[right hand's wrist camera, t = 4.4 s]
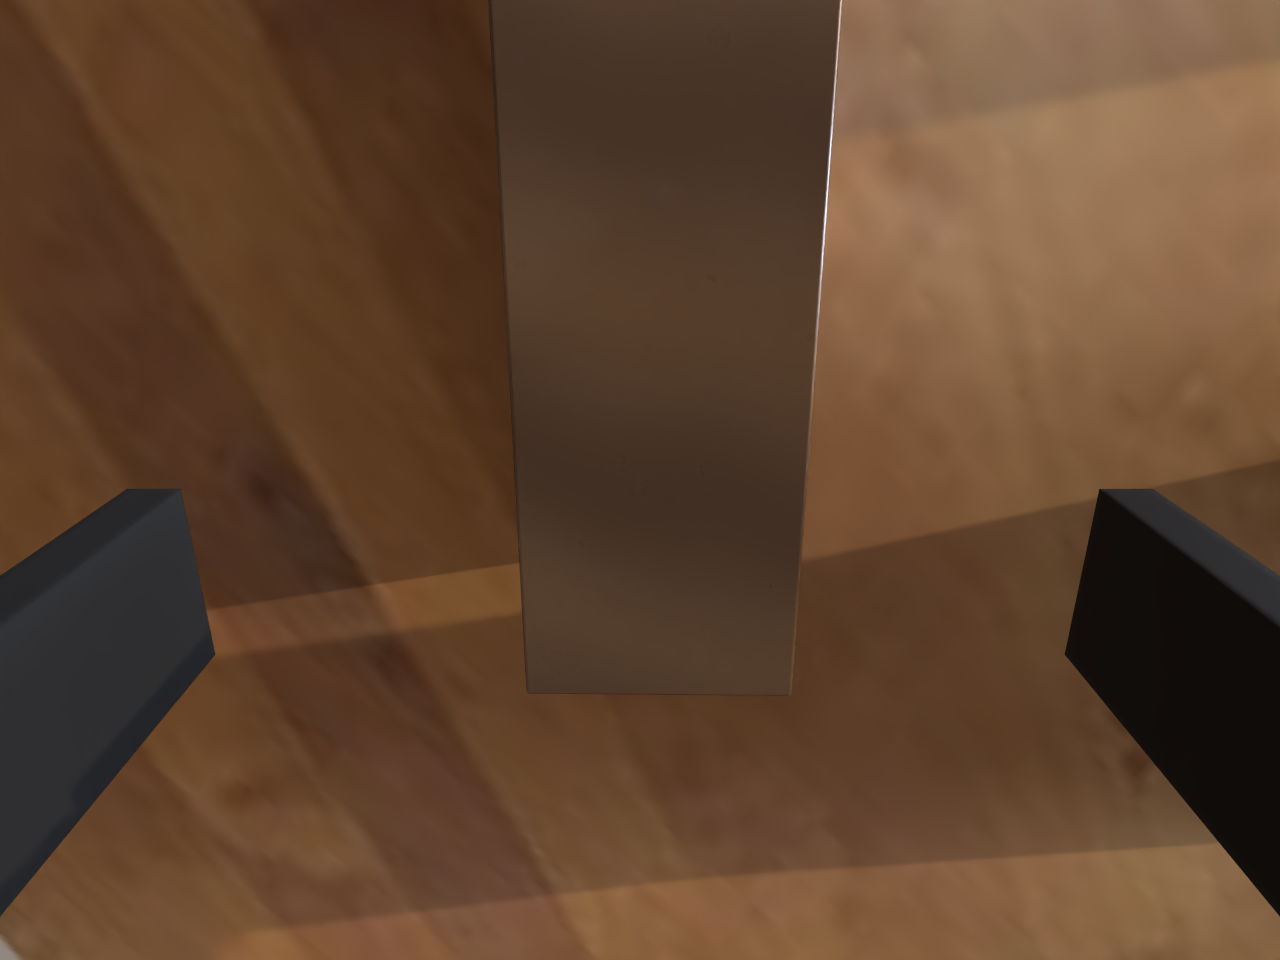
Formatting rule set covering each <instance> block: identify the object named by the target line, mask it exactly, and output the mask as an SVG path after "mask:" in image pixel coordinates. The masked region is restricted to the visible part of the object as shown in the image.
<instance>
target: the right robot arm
mask: <svg viewBox="0 0 1280 960" xmlns="http://www.w3.org/2000/svg"><path fill="white" fill-rule="evenodd" d="M214 655H215V651H214V646H213V641H212V637H211V632H210V627H209V622H208V617H207V613H206V608H205V603H204V598H203V594H202V589H201V584H200V579H199V575H198V570H197V565H196V560H195V556H194V551H193V546H192V541H191V536H190V532H189V527H188V522H187V517H186V513H185V508H184V503H183V498H182V494H181V489H126V490H125V491H123V492H122V493H121V494H119V495H118V496H116V497H115V498H113V499H112V500H110V501H109V502H107V503H106V504H104V505H103V506H102V507H100V508H99V509H97V510H96V511H94V512H93V513H91V514H90V515H88V516H87V517H86V518H84V519H83V520H81V521H80V522H78V523H77V524H75V525H74V526H72V527H71V528H70V529H68V530H67V531H65V532H64V533H62V534H61V535H59V536H58V537H56V538H55V539H53V540H52V541H51V542H49V543H48V544H46V545H45V546H43V547H42V548H40V549H39V550H37V551H36V552H35V553H33V554H32V555H30V556H29V557H27V558H26V559H24V560H23V561H21V562H20V563H19V564H17V565H16V566H14V567H13V568H11V569H10V570H8V571H7V572H5V573H4V574H2V575H1V576H0V916H1V915H2V914H3V912H4V911H5V910H6V909H7V907H8V906H9V905H10V904H11V903H12V901H13V900H14V899H15V898H16V896H17V895H18V894H19V893H20V892H21V890H22V889H23V888H24V887H25V885H26V884H27V883H28V882H29V881H30V879H31V878H32V877H33V876H34V875H35V873H36V872H37V871H38V870H39V868H40V867H41V866H42V865H43V864H44V862H45V861H46V860H47V859H48V857H49V856H50V855H51V854H52V853H53V851H54V850H55V849H56V848H57V847H58V845H59V844H60V843H61V842H62V840H63V839H64V838H65V837H66V836H67V834H68V833H69V832H70V831H71V829H72V828H73V827H74V826H75V825H76V823H77V822H78V821H79V820H80V819H81V817H82V816H83V815H84V814H85V812H86V811H87V810H88V809H89V808H90V806H91V805H92V804H93V803H94V801H95V800H96V799H97V798H98V797H99V795H100V794H101V793H102V792H103V790H104V789H105V788H106V787H107V786H108V784H109V783H110V782H111V781H112V780H113V778H114V777H115V776H116V775H117V773H118V772H119V771H120V770H121V769H122V767H123V766H124V765H125V764H126V762H127V761H128V760H129V759H130V758H131V756H132V755H133V754H134V753H135V752H136V750H137V749H138V748H139V747H140V745H141V744H142V743H143V742H144V741H145V739H146V738H147V737H148V736H149V734H150V733H151V732H152V731H153V730H154V728H155V727H156V726H157V725H158V724H159V722H160V721H161V720H162V719H163V717H164V716H165V715H166V714H167V713H168V711H169V710H170V709H171V708H172V706H173V705H174V704H175V703H176V702H177V700H178V699H179V698H180V697H181V695H182V694H183V693H184V692H185V691H186V689H187V688H188V687H189V686H190V685H191V683H192V682H193V681H194V680H195V678H196V677H197V676H198V675H199V674H200V672H201V671H202V670H203V669H204V667H205V666H206V665H207V664H208V663H209V661H210V660H211V659H212V658H213V657H214ZM1065 655H1066V657H1067V658H1068V659H1069V660H1070V661H1071V663H1072V664H1073V665H1074V666H1075V667H1076V669H1077V670H1078V671H1079V672H1080V674H1081V675H1082V676H1083V677H1084V678H1085V680H1086V681H1087V682H1088V683H1089V685H1090V686H1091V687H1092V688H1093V689H1094V691H1095V692H1096V693H1097V694H1098V695H1099V697H1100V698H1101V699H1102V700H1103V702H1104V703H1105V704H1106V705H1107V706H1108V708H1109V709H1110V710H1111V711H1112V713H1113V714H1114V715H1115V716H1116V717H1117V719H1118V720H1119V721H1120V722H1121V724H1122V725H1123V726H1124V727H1125V728H1126V730H1127V731H1128V732H1129V733H1130V734H1131V736H1132V737H1133V738H1134V739H1135V741H1136V742H1137V743H1138V744H1139V745H1140V747H1141V748H1142V749H1143V750H1144V752H1145V753H1146V754H1147V755H1148V756H1149V758H1150V759H1151V760H1152V761H1153V762H1154V764H1155V765H1156V766H1157V767H1158V769H1159V770H1160V771H1161V772H1162V773H1163V775H1164V776H1165V777H1166V778H1167V780H1168V781H1169V782H1170V783H1171V784H1172V786H1173V787H1174V788H1175V789H1176V790H1177V792H1178V793H1179V794H1180V795H1181V797H1182V798H1183V799H1184V800H1185V801H1186V803H1187V804H1188V805H1189V806H1190V808H1191V809H1192V810H1193V811H1194V812H1195V814H1196V815H1197V816H1198V817H1199V819H1200V820H1201V821H1202V822H1203V823H1204V825H1205V826H1206V827H1207V828H1208V829H1209V831H1210V832H1211V833H1212V834H1213V836H1214V837H1215V838H1216V839H1217V840H1218V842H1219V843H1220V844H1221V845H1222V847H1223V848H1224V849H1225V850H1226V851H1227V853H1228V854H1229V855H1230V856H1231V857H1232V859H1233V860H1234V861H1235V862H1236V864H1237V865H1238V866H1239V867H1240V868H1241V870H1242V871H1243V872H1244V873H1245V875H1246V876H1247V877H1248V878H1249V879H1250V881H1251V882H1252V883H1253V884H1254V885H1255V887H1256V888H1257V889H1258V890H1259V892H1260V893H1261V894H1262V895H1263V896H1264V898H1265V899H1266V900H1267V901H1268V903H1269V904H1270V905H1271V906H1272V907H1273V909H1274V910H1275V911H1276V912H1277V914H1278V915H1279V916H1280V576H1279V575H1278V574H1276V573H1275V572H1273V571H1272V570H1270V569H1269V568H1267V567H1266V566H1264V565H1263V564H1261V563H1260V562H1259V561H1257V560H1256V559H1254V558H1253V557H1251V556H1250V555H1248V554H1247V553H1245V552H1244V551H1243V550H1241V549H1240V548H1238V547H1237V546H1235V545H1234V544H1232V543H1231V542H1229V541H1228V540H1227V539H1225V538H1224V537H1222V536H1221V535H1219V534H1218V533H1216V532H1215V531H1213V530H1212V529H1210V528H1209V527H1208V526H1206V525H1205V524H1203V523H1202V522H1200V521H1199V520H1197V519H1196V518H1194V517H1193V516H1192V515H1190V514H1189V513H1187V512H1186V511H1184V510H1183V509H1181V508H1180V507H1178V506H1177V505H1176V504H1174V503H1173V502H1171V501H1170V500H1168V499H1167V498H1165V497H1164V496H1162V495H1161V494H1159V493H1158V492H1157V491H1155V490H1154V489H1099V494H1098V498H1097V503H1096V508H1095V513H1094V517H1093V522H1092V527H1091V532H1090V536H1089V541H1088V546H1087V551H1086V556H1085V560H1084V565H1083V570H1082V575H1081V579H1080V584H1079V589H1078V594H1077V598H1076V603H1075V608H1074V613H1073V617H1072V622H1071V627H1070V632H1069V636H1068V641H1067V646H1066V651H1065Z"/></svg>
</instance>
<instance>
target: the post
mask: <svg viewBox="0 0 1280 960" xmlns="http://www.w3.org/2000/svg"><path fill="white" fill-rule="evenodd" d="M488 2H489V20H490V38H491V56H492V75H493V93H494V111H495V129H496V147H497V165H498V183H499V201H500V219H501V237H502V256H503V274H504V292H505V310H506V328H507V346H508V364H509V382H510V400H511V419H512V437H513V455H514V473H515V491H516V509H517V527H518V545H519V563H520V581H521V600H522V618H523V636H524V654H525V672H526V690H527V692H528V693H541V694H651V695H761V696H789V695H790V694H791V692H792V679H793V666H794V652H795V639H796V625H797V612H798V598H799V585H800V571H801V558H802V544H803V531H804V517H805V504H806V490H807V477H808V463H809V450H810V436H811V423H812V409H813V396H814V382H815V369H816V355H817V342H818V328H819V315H820V301H821V288H822V274H823V261H824V247H825V234H826V220H827V207H828V193H829V180H830V166H831V153H832V139H833V126H834V112H835V99H836V85H837V72H838V58H839V45H840V31H841V18H842V4H843V0H488Z"/></svg>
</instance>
